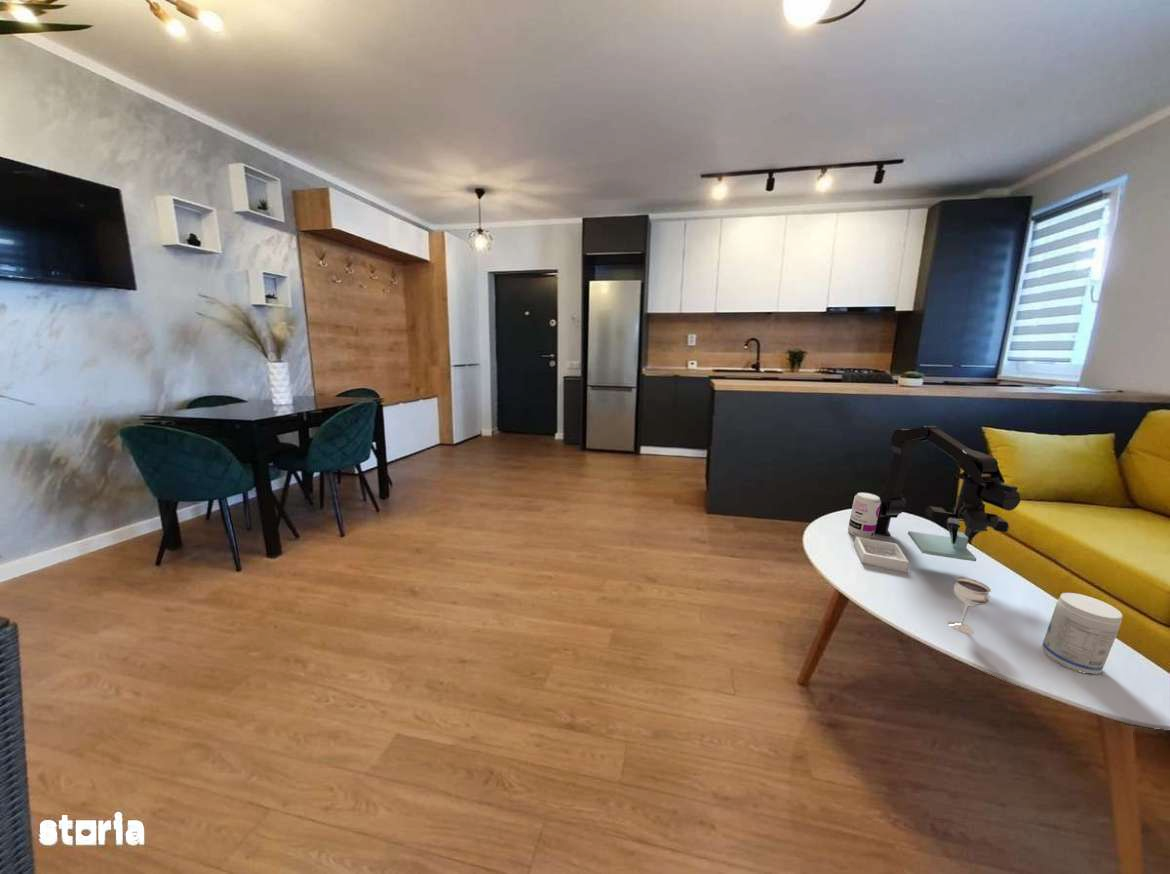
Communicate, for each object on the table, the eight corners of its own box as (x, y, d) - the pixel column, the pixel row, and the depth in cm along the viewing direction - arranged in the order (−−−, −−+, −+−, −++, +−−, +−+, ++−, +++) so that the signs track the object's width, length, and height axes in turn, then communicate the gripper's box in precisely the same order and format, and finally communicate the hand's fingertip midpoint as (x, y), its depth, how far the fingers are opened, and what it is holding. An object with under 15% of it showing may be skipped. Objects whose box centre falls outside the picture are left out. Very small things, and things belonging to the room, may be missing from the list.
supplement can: (873, 533, 161) (881, 495, 157) (873, 541, 154) (881, 502, 150) (848, 527, 165) (855, 490, 161) (846, 535, 158) (854, 496, 155)
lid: (907, 536, 144) (910, 519, 143) (955, 543, 140) (959, 526, 138) (921, 555, 132) (925, 538, 130) (975, 564, 127) (979, 545, 126)
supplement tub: (1043, 639, 106) (1061, 586, 103) (1102, 663, 99) (1124, 606, 96) (1038, 657, 100) (1057, 601, 97) (1100, 683, 93) (1124, 624, 90)
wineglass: (937, 617, 113) (948, 576, 110) (963, 618, 113) (975, 577, 110) (957, 635, 107) (970, 592, 104) (986, 636, 106) (999, 593, 104)
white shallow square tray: (853, 545, 151) (855, 536, 150) (894, 553, 146) (896, 543, 146) (861, 563, 139) (864, 553, 138) (906, 572, 135) (908, 562, 134)
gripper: (944, 500, 126) (931, 549, 130) (1026, 512, 119) (1010, 563, 123) (930, 488, 136) (918, 533, 140) (1005, 498, 129) (991, 546, 133)
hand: (958, 544), depth 134 cm, fingers closed on lid, 2 cm apart
